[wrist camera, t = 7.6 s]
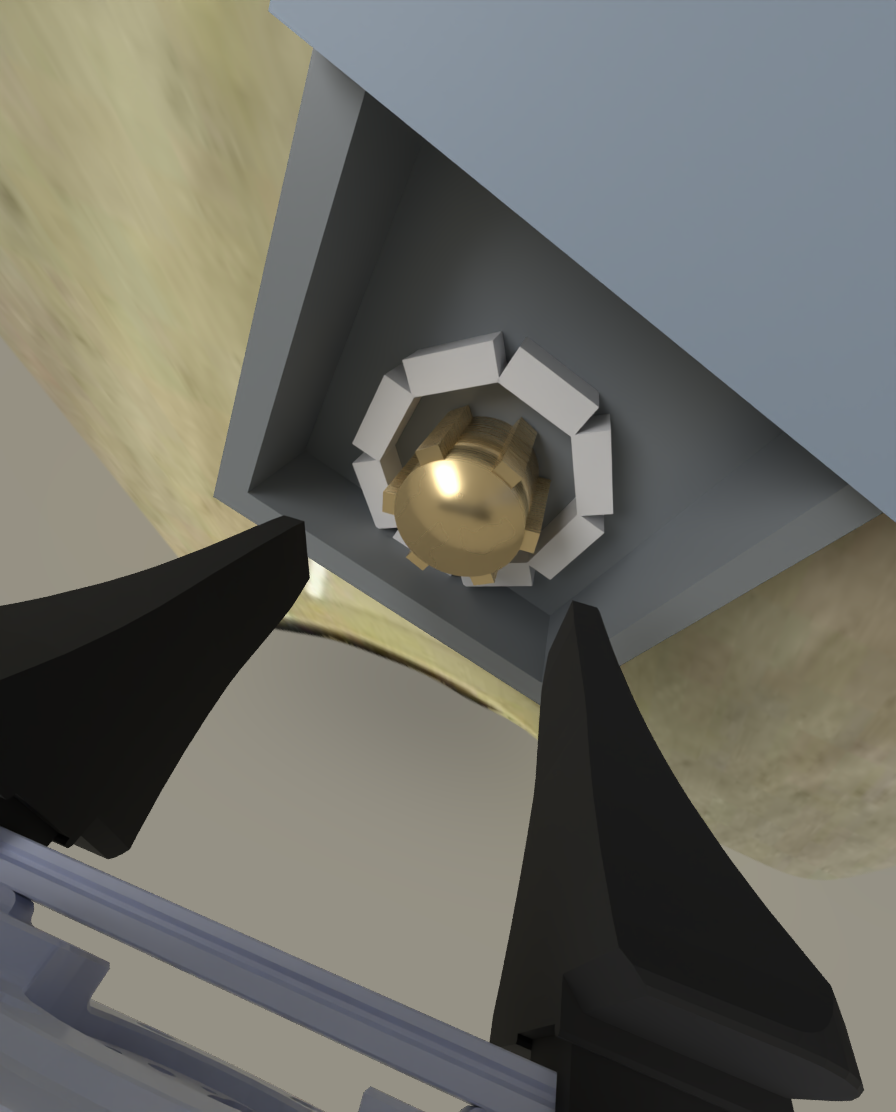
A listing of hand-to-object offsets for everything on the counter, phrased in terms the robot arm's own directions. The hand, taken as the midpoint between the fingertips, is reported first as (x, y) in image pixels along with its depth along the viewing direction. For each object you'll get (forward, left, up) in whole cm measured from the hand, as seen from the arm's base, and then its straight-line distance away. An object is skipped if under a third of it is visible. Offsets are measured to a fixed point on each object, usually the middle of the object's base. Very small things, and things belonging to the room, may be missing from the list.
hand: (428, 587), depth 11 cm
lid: (0, -15, -3) cm, 16 cm away
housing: (0, -2, -8) cm, 9 cm away
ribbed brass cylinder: (0, 0, -7) cm, 7 cm away
